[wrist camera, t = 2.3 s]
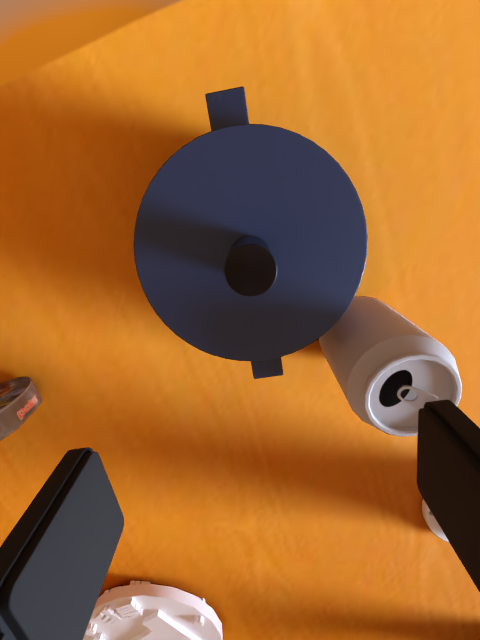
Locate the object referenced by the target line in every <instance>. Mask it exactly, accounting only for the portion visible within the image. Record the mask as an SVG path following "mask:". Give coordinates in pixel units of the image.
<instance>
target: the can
mask: <svg viewBox="0 0 480 640" xmlns="http://www.w3.org/2000/svg"><path fill="white" fill-rule="evenodd" d="M319 344H320V346H321V349H322V351H323V353H324V355H325V357H326V359H327V361H328V363H329V365H330V367H331V369H332V371H333V373H334V375H335V377H336V379H337V381H338V383H339V385H340V387H341V389H342V390H343V392H344V394H345V396H346V398H347V400H348V402H349V404H350V406H351V408H352V410H353V411H354V412H355V413H356V414H357V415H358V416H359V418H360V419H361V420H362V421H364V422H366V423H368V424H370V425H372V426H374V427H376V428H377V429H379V430H381V431H383V432H385V433H387V434H390V435H396V436H401V437H403V436H416V435H418V411H419V409H420V408H424V404H425V403H426V402H431V401H438V400H445V399H447V400H450V401H451V402H453V403H454V404H455V405H456V406H457V405H458V403H459V401H460V398H461V390H462V384H461V380H460V376H459V373H458V369H457V366H456V362H455V358H454V357H453V356H452V354H451V353H450V352H449V351H448V349H447V348H446V347H445V346H444V345H443V344H441V343H440V342H438V341H437V340H436V339H434V338H433V337H431V336H430V335H429V334H427V333H426V332H424V331H423V330H422V329H420V328H419V327H417V326H416V325H415V324H413V323H412V322H411V321H409V320H408V319H406V318H405V317H404V316H402V315H401V314H399V313H398V312H397V311H395V310H394V309H392V308H391V307H390V306H388V305H387V304H385V303H383V302H382V301H380V300H378V299H376V298H371V297H366V296H361V297H354V298H353V300H352V301H351V303H350V305H349V306H348V308H347V310H346V311H345V312H344V314H343V315H342V316H341V317H340V319H339V320H338V321H337V322H336V323H335V324H334V325H333V326H332V327H331V328H330V329H329V330H328V331H327V332H326V333H325V334H324V335H322V336H321V337H320V338H319Z"/></svg>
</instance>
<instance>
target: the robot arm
mask: <svg viewBox="0 0 480 640" xmlns="http://www.w3.org/2000/svg"><path fill="white" fill-rule="evenodd" d="M417 486H418V489H419V492H420V494H421V496H422V498H423V501H422V513H423V517H424V519H425V521H426V523H427V525H428V526H429V528H430V529H431V531H432V532H433V533H434V534H435V535H436V536H437V537H439V538H441V539H443V540H444V541H447V542H449V543H450V544H451V546H452V547H453V549H454V551H455V552H456V554H457V555H458V557H459V559H460V560H461V562H462V564H463V565H464V567H465V569H466V570H467V572H468V574H469V575H470V577H471V579H472V580H473V582H474V584H475V585H476V587H477V589H478V590H479V592H480V428H479V427H478V426H477V425H476V424H475V423H473V422H472V421H471V420H470V419H469V418H468V417H467V416H466V415H465V414H464V413H463V412H462V411H461V410H460V409H459V408H458V407H457V406H456V405H455V404H454V403H453V402H451V401H450V400H447V399H445V400H438V401H431V402H426V403H425V404H424V408H420V409H419V411H418V446H417ZM123 526H124V517H123V514H122V511H121V509H120V506H119V504H118V501H117V499H116V496H115V494H114V491H113V489H112V486H111V484H110V481H109V479H108V476H107V474H106V471H105V469H104V466H103V464H102V461H101V459H100V456H99V454H98V453H97V452H94V451H93V450H92V449H91V448H89V447H87V448H80V449H72V450H69V451H68V452H67V453H66V454H65V455H64V457H63V458H62V460H61V461H60V462H59V464H58V465H57V467H56V468H55V470H54V471H53V472H52V474H51V475H50V477H49V478H48V480H47V481H46V482H45V484H44V485H43V487H42V488H41V490H40V491H39V492H38V494H37V495H36V497H35V498H34V500H33V501H32V502H31V504H30V505H29V507H28V508H27V510H26V511H25V513H24V514H23V515H22V517H21V518H20V520H19V521H18V523H17V524H16V525H15V527H14V528H13V530H12V531H11V533H10V534H9V535H8V537H7V538H6V540H5V541H4V543H3V544H2V545H1V547H0V640H83V638H84V635H85V632H86V630H87V627H88V624H89V621H90V619H91V616H92V613H93V610H94V608H95V605H96V602H97V599H98V597H99V594H100V591H101V588H102V586H103V583H104V580H105V577H106V575H107V572H108V569H109V566H110V564H111V561H112V558H113V555H114V553H115V550H116V547H117V544H118V542H119V539H120V536H121V533H122V531H123Z"/></svg>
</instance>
